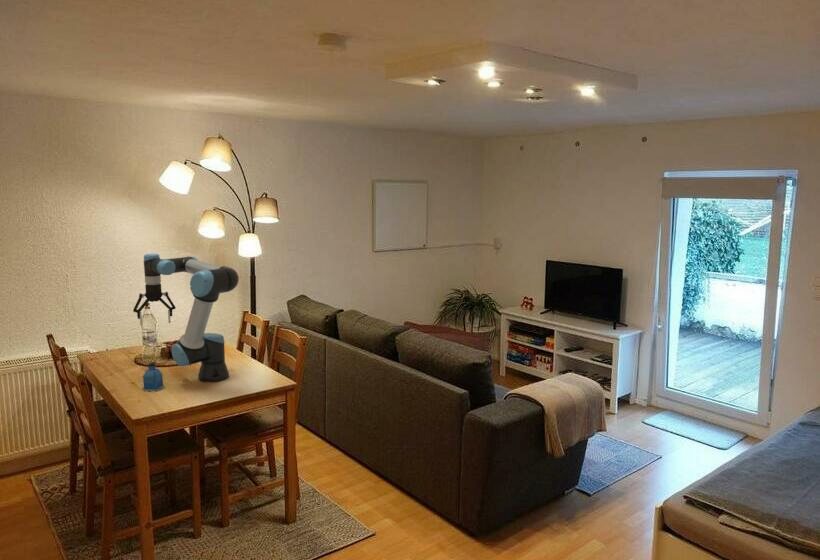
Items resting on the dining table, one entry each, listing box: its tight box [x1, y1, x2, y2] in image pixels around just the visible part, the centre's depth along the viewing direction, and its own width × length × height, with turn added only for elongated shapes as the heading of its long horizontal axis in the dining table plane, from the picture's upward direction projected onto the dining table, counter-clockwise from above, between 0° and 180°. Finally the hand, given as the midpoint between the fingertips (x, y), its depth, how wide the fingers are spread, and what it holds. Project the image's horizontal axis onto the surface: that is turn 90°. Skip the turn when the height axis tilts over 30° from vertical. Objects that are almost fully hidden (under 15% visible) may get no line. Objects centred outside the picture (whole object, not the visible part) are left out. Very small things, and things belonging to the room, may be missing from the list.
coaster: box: [141, 384, 165, 393], centre depth 288 cm, size 10×10×1 cm
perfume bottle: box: [142, 362, 164, 389], centre depth 287 cm, size 6×6×12 cm
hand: (155, 323), depth 307 cm, fingers open, 13 cm apart
